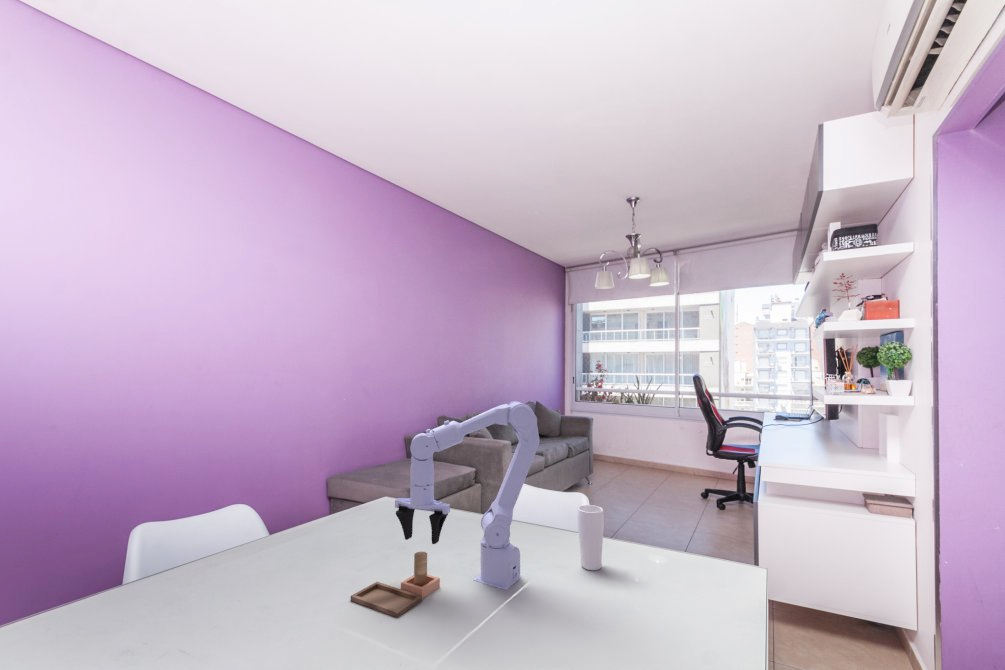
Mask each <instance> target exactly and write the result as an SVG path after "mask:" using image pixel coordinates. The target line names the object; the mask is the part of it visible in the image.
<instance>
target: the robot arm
mask: <svg viewBox="0 0 1005 670" xmlns="http://www.w3.org/2000/svg"><path fill="white" fill-rule="evenodd" d="M492 425H499V426H500V425H501V426H508V425H510V426H511V428H512V429H513V431H514V433H515V436H516V437H517V440H518V443H517V445H516V448H515V451H514V453H513V456H512V458H511V460H510V463H509V465H508V467H507V470H506V473H505V475H504V478H503V481H502V482H501V485H500V488H499V490H498V492H497V494H496V497H495V499H494V501H492V502H491V504H490V507H489V508H488V510H486V512H485V513H484V514H483V515H482V517H481V519H480V527H481V529H482V531H483V536H482V538H481V539H480V573H479V575H478V576H476V577H474V578H473V581H474V582H478V583H481V584H484V585H487V586H491V587H494V588H498V589H502V590H508V589H510V587H512V586H513V585H514V584H515V583H516V582H518V581H519V580H520V579H521V578H522V575H521V551H520V548H519V547H517V546H515V545H513V544H512V543H511V542H510V537H511V524H512V522H513V517H514V516H513V515H514V509H515V505H516V503H517V501H518V498H519V496H520V493H521V490H522V488H523V485H524V484H525V481H526V478H527V476H528V474H529V471H530V468H531V466H532V464H533V461H534V458H535V455H536V454H537V451H538V448H539V445H540V443H541V442H540V440H541V439H540V435H539V428H538V417H537V415H536V414H535V412H534V410H533V409H532V407H531V406H530V405H528V404H526V403H523V402H522V401H518V400H514V401H513V400H512V401H510V402H508V403H504V404H500V405H497V406H495V407H492V408H490V409H488V410H485V411H483V412H481V413H480V414H477V415H475V416H473V417H470V418H469V419H467V420H464V421H462V422H458V421H456V420H451V421H450V420H449V419H447V420H445V421H443V424H442V425H440V426H437V427H435V428H433V429H430V428H428V429H426V430H425V433H424V432H421V433H417V434H416V435H415V436H414V437H412V440H411V443H410V446H409V447H410V448H409V449H410V450H409V451H410V453H411V457H410V462H411V464H410V473H409V474H410V477H409V479H410V482H409V483H410V484H409V485H410V486H409V487H410V488H409V490H410V493H409V495H410V496H409V498H407V497H398V498H397V499H395V500H394V508H395V509H398V510H396V511H395V515H396V517H397V519H398V520H399V522H400V526H401V529H402V531H403V536H404V540H409V539H411V538H412V537H413V524H414V514H415V510H419V511H425V512H433V513H432V514H430V515H429V516H428V518H429V521H430V522H429V523H430V528H431V544H432V545H436V544H438V543H439V541H440V536H441V533H442V529H443V526H444V524H445V521H446V520H447V517H448V515H449V513H450V512H451V504H450V503H446V502H442V501H438V500H435V496H434V495H435V464H434V453H436V452H437V453H438V452H440V453H441V452H442V451H444V450H447V449H449V448H451V447H454V446H455V445H459V444H461V443H462V442H464V441H463V440H464V438H465V436H467V435H468V434H471V433H475V432H476V431H479V430H482V429H484V428H487V427H489V426H492Z"/></svg>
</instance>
